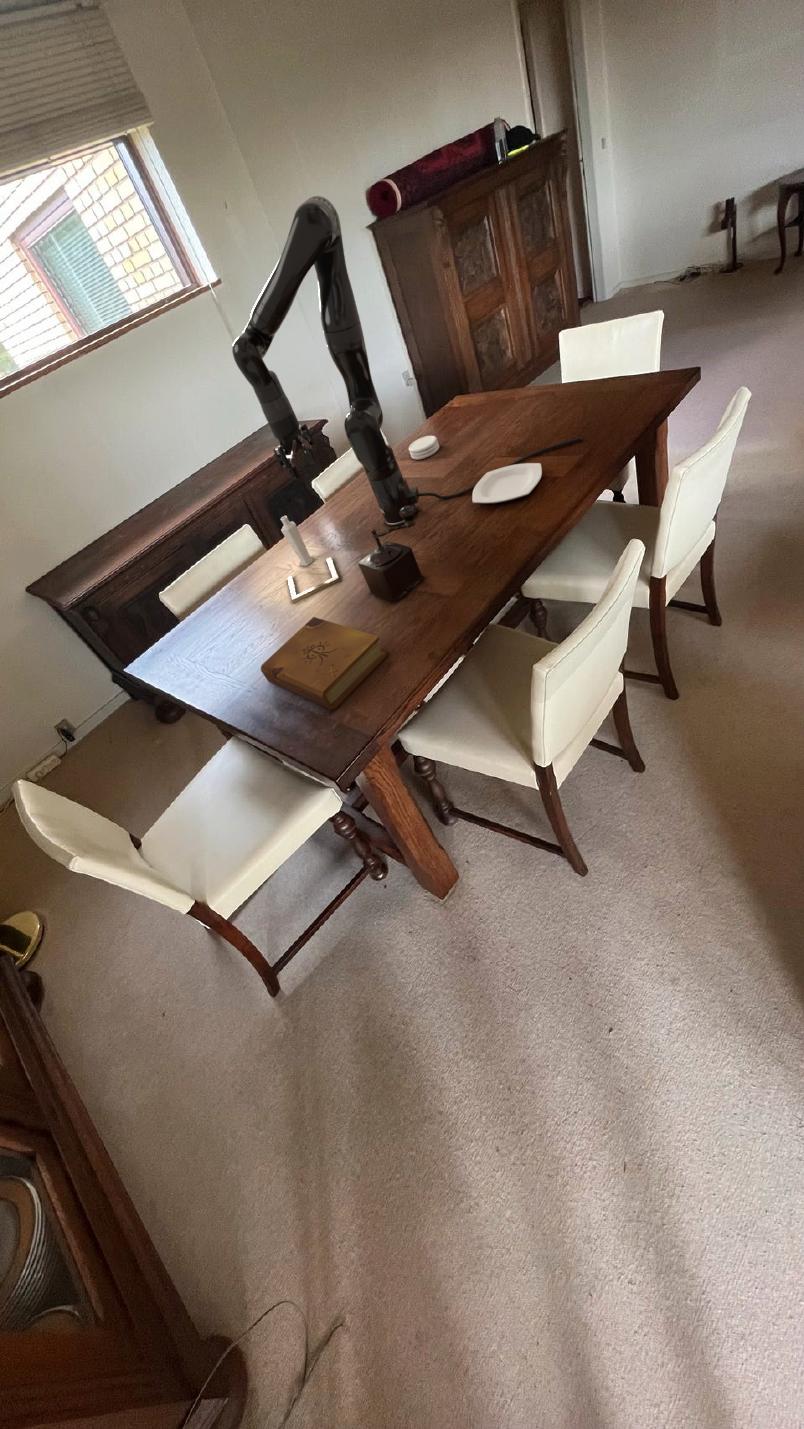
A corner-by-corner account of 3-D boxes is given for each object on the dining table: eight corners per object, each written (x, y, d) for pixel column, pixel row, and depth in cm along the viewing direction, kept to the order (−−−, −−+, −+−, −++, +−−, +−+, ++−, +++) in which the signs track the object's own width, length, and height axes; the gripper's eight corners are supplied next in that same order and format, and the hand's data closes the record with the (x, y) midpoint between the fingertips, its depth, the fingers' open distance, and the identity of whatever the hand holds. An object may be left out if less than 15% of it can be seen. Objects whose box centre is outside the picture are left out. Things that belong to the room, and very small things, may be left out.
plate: (466, 512, 172) (464, 506, 171) (484, 476, 183) (482, 470, 182) (534, 502, 163) (533, 496, 161) (549, 465, 174) (548, 458, 173)
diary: (270, 685, 148) (258, 667, 144) (323, 634, 155) (313, 616, 151) (331, 712, 133) (320, 693, 129) (387, 655, 140) (377, 635, 136)
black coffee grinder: (396, 603, 153) (369, 541, 141) (370, 593, 160) (341, 533, 149) (440, 567, 157) (417, 503, 146) (412, 559, 165) (388, 497, 153)
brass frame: (288, 580, 181) (286, 578, 181) (332, 560, 181) (330, 557, 180) (293, 602, 171) (291, 600, 171) (340, 581, 171) (338, 578, 170)
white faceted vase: (312, 564, 183) (288, 520, 173) (299, 567, 185) (275, 523, 175) (316, 556, 186) (293, 511, 176) (303, 559, 188) (280, 515, 178)
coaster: (444, 443, 210) (441, 433, 208) (431, 459, 205) (427, 449, 203) (420, 446, 216) (417, 436, 213) (406, 461, 211) (402, 451, 209)
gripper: (275, 425, 160) (302, 483, 171) (304, 400, 168) (328, 457, 179) (254, 429, 164) (282, 486, 175) (283, 404, 172) (308, 459, 183)
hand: (305, 471), depth 177 cm, fingers open, 8 cm apart
